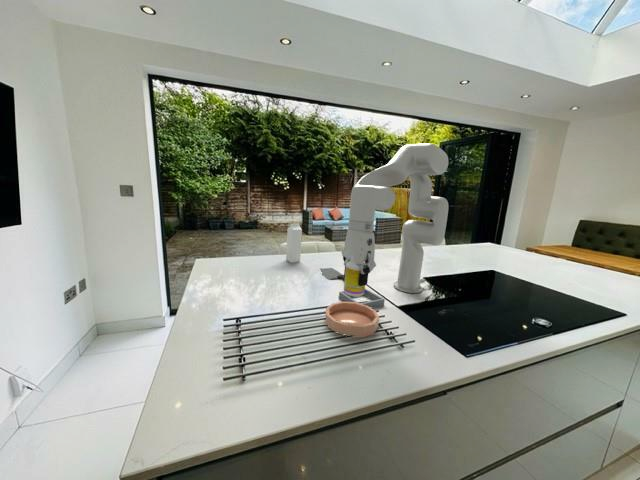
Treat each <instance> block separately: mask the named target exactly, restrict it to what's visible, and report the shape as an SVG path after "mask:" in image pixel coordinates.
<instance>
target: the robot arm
mask: <svg viewBox="0 0 640 480" xmlns="http://www.w3.org/2000/svg"><path fill="white" fill-rule="evenodd" d="M448 166H449V156H448V154H447V153H446V152H445V151H444V150H443V149H442V148H440V147H439V146H438V145H436V144H433V143H410V144H405V145H403V146H401V147H400V148H399V149H398V150H397V152H396V153H395V154H394V155H393V157H391V159H390V160H389V161H388V163H387V164H385V165H383V166H380V167H379V168H375V169H373V170H372V171H370V172H368V173H366V174H365V175H364V176H362V177H361V178H360V179H359V180H358V181H357V183H356V184H355V185H354V186H352V189H351V194H350V206H349V207H350V208H349V216H348V217H349V218H348V225H347V226H348V227H347V228H348V229H347V231H346V235H345V241H344V247H343V250H341V251H340V252H341V255H342V260H343V262H344V263H343V266H344V272H343V275H344V278H345V272H346V264H347V262H348V261H350V260H351V258H350V257H351V255H352V256H353V257H354V260H353V261H354V262H355V263H357V264H359V266H360V271H361V273H359V280H358V286H364V285H365V286H367V285H368V280H369V274H370V273H371V272H372V271H373V269H375V268H376V266H377V264H376V262H375V253H376V252H375V250H376V242H375V241H376V236H375V233H374V228H375V226H374V223H375V222H374V221H375V214H376V213H375V212H376V210H377V211H387V210H389V209H391V208H392V207H393V206H394V205H395V201H396V194H395V192H394V190H393V188H391V187H393V186H397V185H400V184H402V183H404V182H405V181H406V180H407V179H409V182H410V187H409V188H410V189H409V197H408V198H409V199H408V209H407V210H408V214H409V215H410V216H412V217H414V218H421V219H426V220H427V219H428V220H432V221H426V220H420V219H418V220H417V219H408V220H406V221H405V222H404V223H403V225H402V229H401V236H402V237H401V238H402V243H401V244H402V245H401V254H400V259H399V266H398V274H397V275H398V276H397V280H396V281H395V282H394V283H393V287H394V288H395V289H396V290H397V291H400V292H404V293H408V294H409V293H410V294H419V293H421V292H422V291H423V287H422V286H421V284H425V283H426V279H425V278H421V275H422V269H423V268H422V267H423V261H424V255H425V253H424V249H423V246H422V244H425V245H430V246H440V245H442V243H443V242H444V239H445V236H446V235H445V234H446V228H447V222H448V216H449V215H448V214H449V202H448V199H446V198H445V197H442V196H433V195H432V189H433V182H432V180H431V178H430V176H429V175H431V176H439V175H442V174H443V175H444V173H445V172H446V171H447V170H448ZM364 265H365V267H366V268H365V269H364Z"/></svg>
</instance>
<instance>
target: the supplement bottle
mask: <svg viewBox="0 0 640 480" xmlns="http://www.w3.org/2000/svg"><path fill="white" fill-rule="evenodd" d="M350 258H351V260H350V261H348V262H347V264H346V272H345V282H344V281H343V283H344V284H343V291H344V292H345V293H346V294H347V295H350V297H356V298H357V297H362V296H364V290H365V289H366V285H364V286H358V280H359V273H361V271H360V266H359V264H357V263H355V262H354V261H353V260H354V257H353V256H352V255H351V257H350ZM365 268H366V267H365V265H364V269H365Z"/></svg>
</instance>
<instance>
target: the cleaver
mask: <svg viewBox="0 0 640 480" xmlns="http://www.w3.org/2000/svg"><path fill="white" fill-rule="evenodd" d="M319 269H320V270H321V272H322V274H321V276H322V277H324V278H326V279H327V280H330V281H332V280H341V281H342V282H343V283H344V282H345V278H344V273H341V272H340V271H338V270H336V269H335V268H333V267H327V268H319Z"/></svg>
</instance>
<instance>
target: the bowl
mask: <svg viewBox="0 0 640 480" xmlns="http://www.w3.org/2000/svg"><path fill="white" fill-rule="evenodd" d="M356 302H357V301H356ZM356 302H344V301H338V302H335V303H330V305H329V306H328V307H326V308H325V317H324V319H325V318H326V321H325V325H326V324H327V325H328V326H329V327H330V328H331V329H332V330H333V331H335V332H338V333H341V334H346V335H355V337H354V338H365V337H369V336H372V335H374V334H375V333H376V331H377V330H378V328H379V322H380V317H379V315H378V312H377V311H376V310H375V309H374V308H370V307H369V306H366V305H363V304H359V303H360V302H358V303H356ZM327 325H326V326H327ZM328 326H327V327H328ZM329 327H328V328H329ZM330 328H329V329H330ZM331 329H330V330H331ZM332 330H331V331H332ZM333 331H332V332H333ZM335 332H334V333H335ZM374 332H375V333H374ZM338 333H337V334H338ZM341 334H340V335H341Z"/></svg>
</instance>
